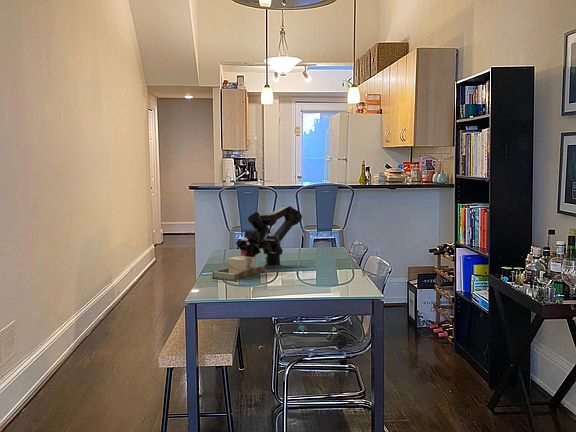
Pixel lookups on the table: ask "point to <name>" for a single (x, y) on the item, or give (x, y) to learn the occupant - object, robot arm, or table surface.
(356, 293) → the table surface
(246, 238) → the canned food
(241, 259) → the birch block
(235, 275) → the channel
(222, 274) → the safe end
